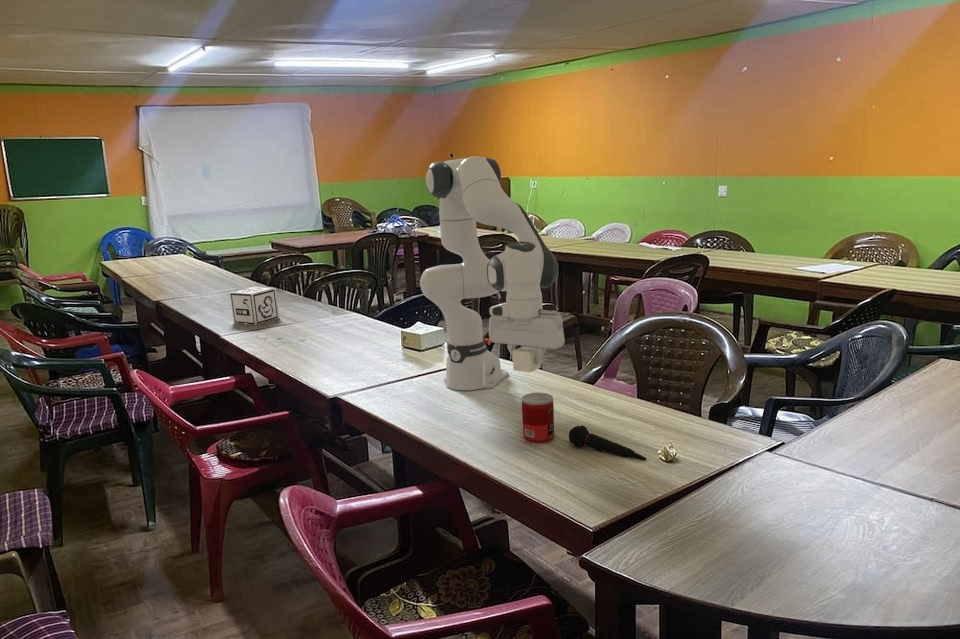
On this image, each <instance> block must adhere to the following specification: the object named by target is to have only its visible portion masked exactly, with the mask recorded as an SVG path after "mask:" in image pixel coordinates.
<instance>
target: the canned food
mask: <svg viewBox="0 0 960 639" xmlns="http://www.w3.org/2000/svg"><path fill="white" fill-rule="evenodd" d="M554 414H555V410H554V397H553V395H552V394H549V393H546V392H530V393H527V394H524V395H522V397H521V416H522V418H521V419H522V433H523V434H522V435H523V438H524V440H525V441H526V442H528V443H532V444H545V443H549V442H551V441H553V440H554V438H555V415H554Z"/></svg>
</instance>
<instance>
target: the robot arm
mask: <svg viewBox="0 0 960 639" xmlns="http://www.w3.org/2000/svg"><path fill="white" fill-rule="evenodd" d="M501 181H502V173H501V168H500V165H499V163H498V162H497V160H495V159H494V158H490V157H481V156H477V155H475V156H473V155H472V156H469V157H462V158H457V159H450V160H449V159H448V160H445V161H442V160H439V161H436V162H432V163H431V164H430V165H429V167H427V170H426V175H425V182H426V186H427V189H428V192H429V194H431V196H432V197H434V198H437V199H439V207H438V208H439V209H438V210H439V211H438V212H439V225H440V226H439V228H440V229H439V230H440V240H441V241H440V242H441V245H442V246H443V248H444V249H446V250H447V251H449V252H451V253H453V254H455V255H458V256H460V257H461V258H462V262H461V263H454V264H440V265H435V266H431V267H428V268H426V269H425V270H423V271H422V274H421V276H420V280H419V286H420V290H421V292H422V294H423V295H424V297H426V298H427V299H428V300H429V301H431V302H432V303H433V304H435V305H436V306H437V307H438V309H439V310H440V311H441V312H442V315H443V318H444V321H445V323H446V324H445V325H446V330H447V339H448V340H447V342H446V350H447V354H448V356H446V363H445V364H446V366H445V367H446V368H445V373H446V374H445V376H444V377H443V378H444V379H443V380H444V382H445V386H446V387H447V388H449V389H450V390H454V391H455V390H456V391H474V390H475V391H476V390H480V389H481V390H482V389H492V388H494V387H495V386H496V385H498V384H499V383H500V382H502V381H503V380H504V379H505V378H506V377H508V375H509V371H508V370H506V369H502V368H501V366H502V365H501V360H500V358H499V357H498V356H497V355H495V354H494V353H493V352H491V351H490V350H488V346H489V345H490V346H491V343H495V344H503V345H507V347H506V348H507V349H508V352H509V353H510V355H511V361H512V362H513V350H516V349H517V348H516V347H517V346H521V347H523V346H525V347H535V348H537V351H538V352H539V353H538V355H537V356H536V357H534V364H538V365H540V364H541V365H542V364H543V363H544V362H543V357H544V354H545V353H546V351H547V349H551V350H558V349H560V348H562V347H563V346H564V345H565V342H566V340H565V333H564V328H563V327H564V326H563V322H564V321H563V316H562V315H561V314H560V313H559V312H558V311H557V310H554V309H553V310H548V309H543V293H542V291H541V289H548V288H549V287H551V286H552V284H554V283H555V281H556V280H557V278H558V275H559V272H560V271H559V263H558V260H557V258H556V257H555V255H554V253H552V251H551V250H550V249H549V248H548V246H547V245H546V244H545V243H544V241H543V239H542V237H541V235H540V234H539V232H538V231H537V229H536V227H535V225H534V223H533V222H532V221H531V218H530V217H529V215H528V214H527V212H526V211H525V209H524V208H523V207H522V205H520V204H519V203H517V202H515V200H513V199H512V198H510V197H509V195H507V194H506V193H505V191H504V190H503V188H502V186H501ZM477 222H478V223H480V224H481V225H486V226H490V227H491V226H492V227H497V228H500V229H504V230H507V231H510V232H511V233H513V234H514V235H515V236H516V237H517V239H518V241H513V242H509V243H508V244H507V245H506V246H505V248H504V251H503V252H501V253H499V254H496V255H493V256H492V257H491V258H490V259H489V258H488V257H487V256H486V254H485V253H484V252H483V250H482V248H481V246H480V242H479V238H478V236H479V235H478V230H477ZM499 292H506V296H505V300H506V301H503V302H501V303H499V304H495V305H492V306H490V307H489V315H490V317H489V320H488V337H489V338H486V337H485V338H484V336H483V335H484V333H483V332H484V331H483V320H482V316H481V315H480V314H479V312H478V311H475V310H473V309H470V308H468V307H466V306H464V305H463V304H462V303H461V301H462V300H465V299H477V298H485V297H490V296H493V295H495V294H498V293H499Z"/></svg>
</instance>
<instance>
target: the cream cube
mask: <svg viewBox="0 0 960 639" xmlns="http://www.w3.org/2000/svg"><path fill="white" fill-rule="evenodd" d="M515 349H516V350H513V361H512V369H513V371H518V372H523V373H533V372H534V371H537V370H538V369H540V368H542V364H540V365H538V364H534V357H536V356H537V355H538V353H539V352H538V351H537V347H530V346H521V347H518V348H515Z"/></svg>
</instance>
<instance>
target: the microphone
mask: <svg viewBox="0 0 960 639" xmlns="http://www.w3.org/2000/svg"><path fill="white" fill-rule="evenodd" d="M568 440H569V442H570V443H571V444H572V445H573V446H574V447H575V448H576V449H580V448H584V447H585V446H586V447H587V448H591V449H594V450H595V451H597V452H600V453H602V452H603V453H604V452H605V453H608V454H611V455H616V456H619V457H623V458H626V459H628V458H629V459H636V460H641V461H646V460H647V457H646V456H643V455H641V454H640V453H638V452H636V451H635V450H632V449H631V448H629V447H627V446H624V445H622V444H620V443H617V442H614V441H612V440H609V439H607V438H605V437H602V436H599V435H596V434H594V433H593V432H590V431H589V430H588V428H587V427H586V426H585V425H575V426H574V427H572V428H571V429H570V430H569V432H568Z"/></svg>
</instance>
